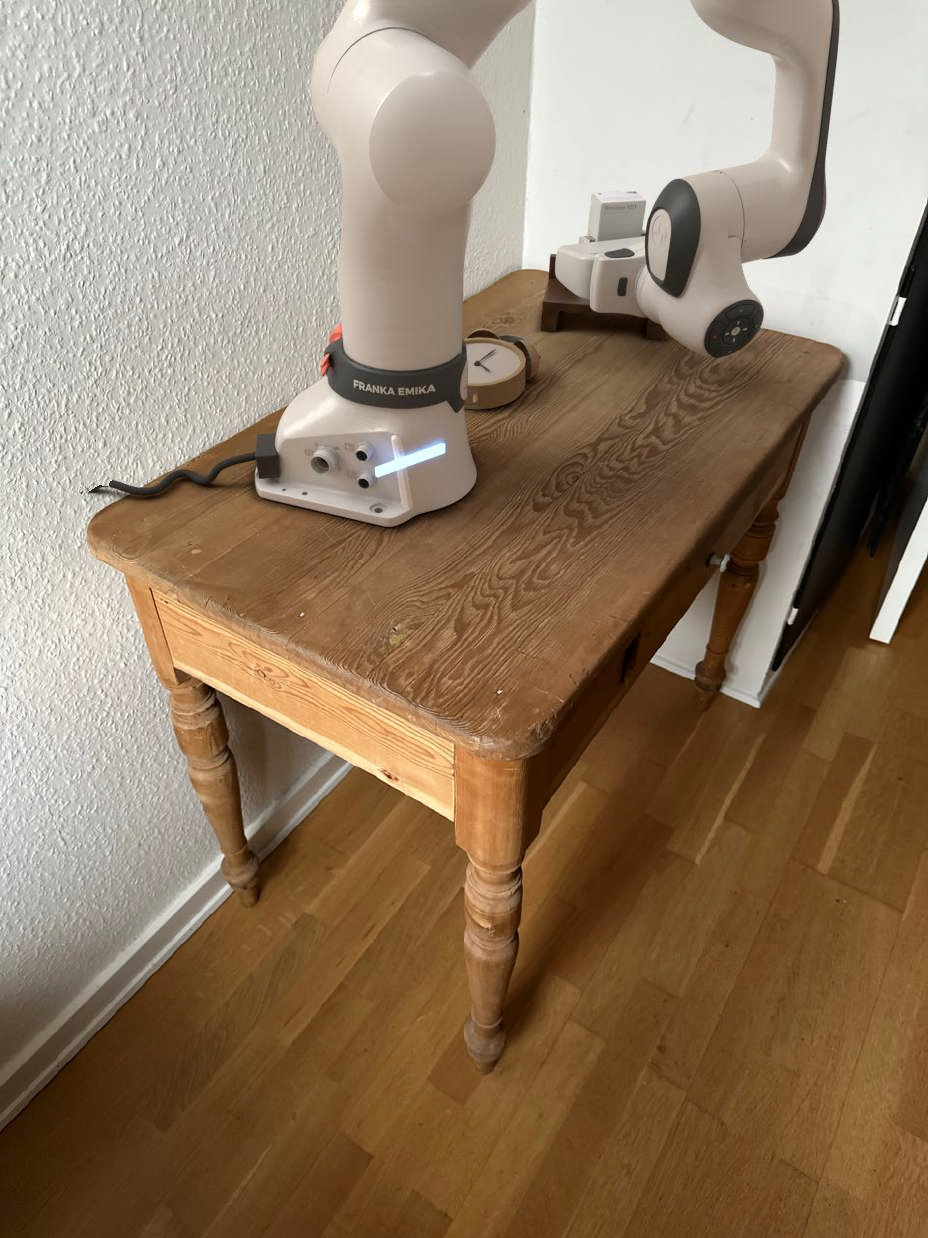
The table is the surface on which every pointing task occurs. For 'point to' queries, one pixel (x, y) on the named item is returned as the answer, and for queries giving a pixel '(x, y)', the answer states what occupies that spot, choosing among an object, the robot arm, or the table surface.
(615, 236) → the cosmetic box
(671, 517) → the table surface
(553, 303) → the brown wooden bench
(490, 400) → the alarm clock
